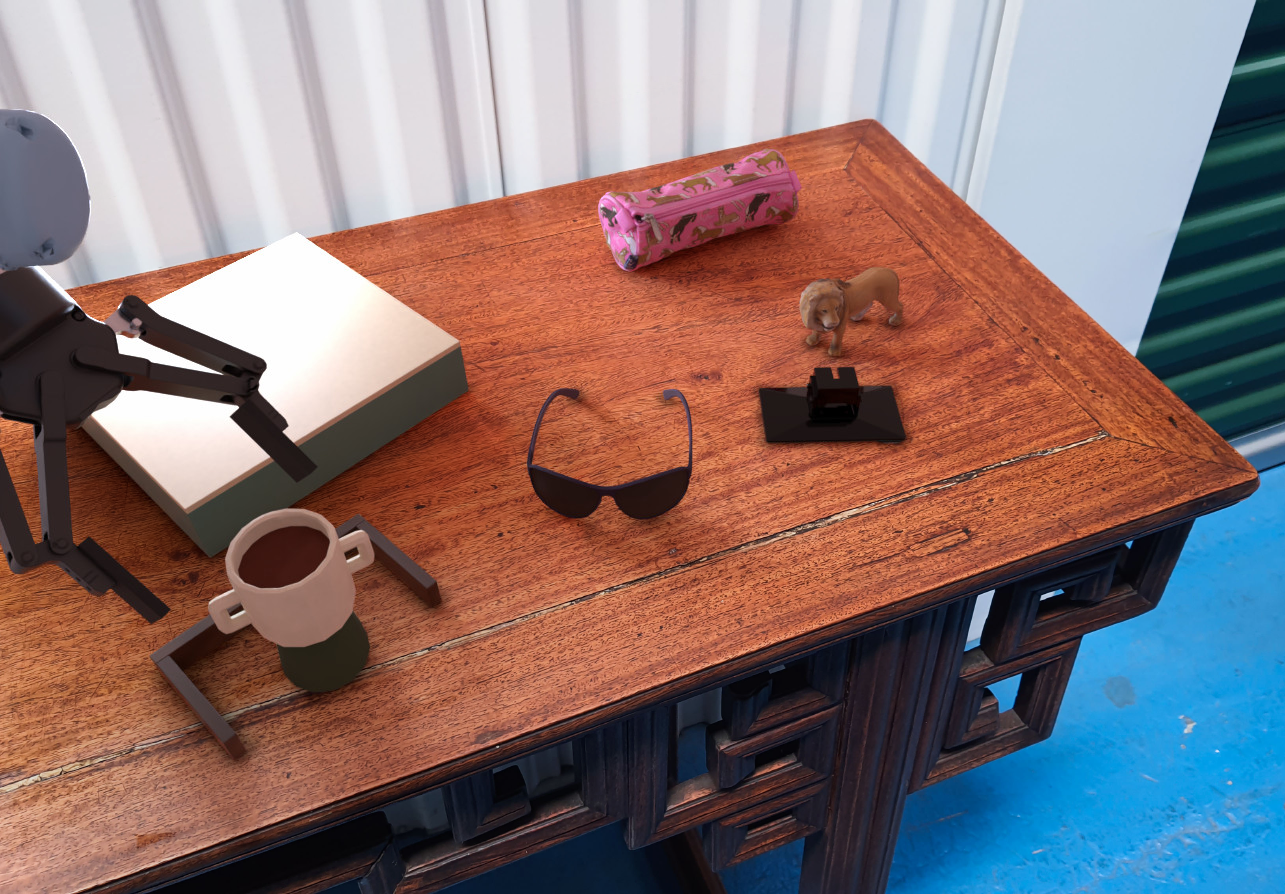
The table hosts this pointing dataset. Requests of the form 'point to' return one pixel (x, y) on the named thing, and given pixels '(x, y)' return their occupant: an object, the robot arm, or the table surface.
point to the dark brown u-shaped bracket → (209, 637)
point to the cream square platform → (279, 387)
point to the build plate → (831, 411)
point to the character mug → (299, 595)
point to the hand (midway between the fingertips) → (239, 542)
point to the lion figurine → (847, 303)
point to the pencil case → (698, 208)
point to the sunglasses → (631, 498)
